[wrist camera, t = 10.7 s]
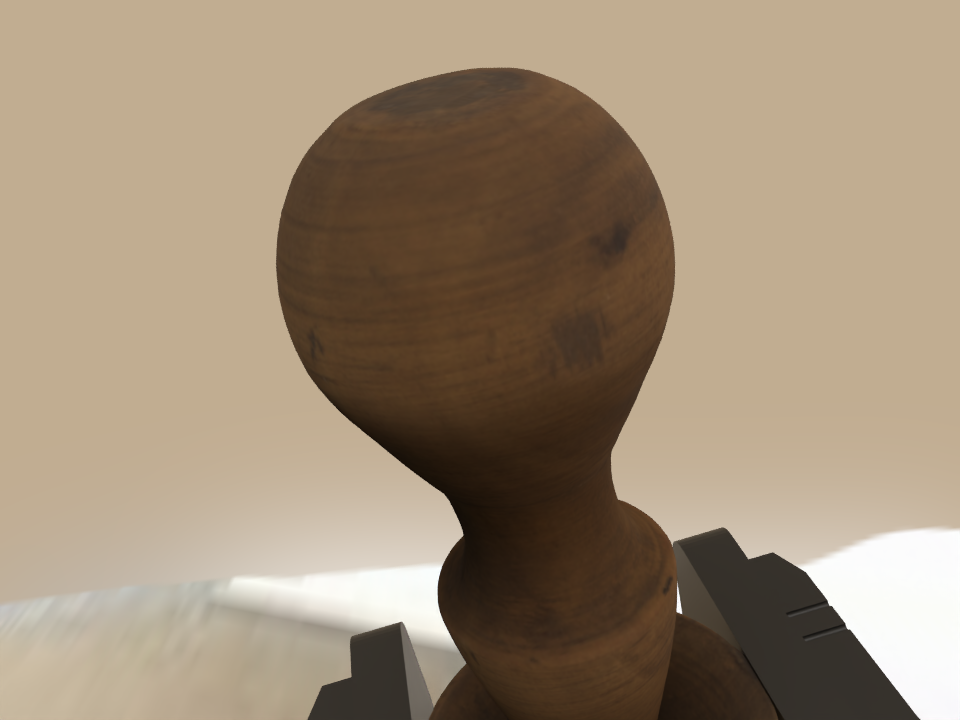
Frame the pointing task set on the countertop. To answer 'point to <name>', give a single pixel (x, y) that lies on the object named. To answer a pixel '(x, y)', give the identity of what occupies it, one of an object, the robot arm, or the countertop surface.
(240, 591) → the countertop surface
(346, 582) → the countertop surface
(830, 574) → the countertop surface
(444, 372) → the mortar and pestle
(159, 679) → the countertop surface
